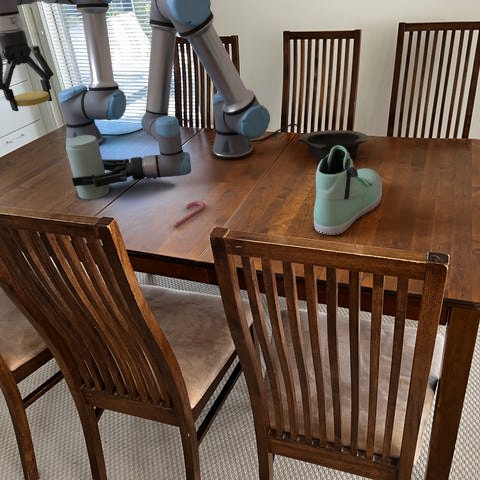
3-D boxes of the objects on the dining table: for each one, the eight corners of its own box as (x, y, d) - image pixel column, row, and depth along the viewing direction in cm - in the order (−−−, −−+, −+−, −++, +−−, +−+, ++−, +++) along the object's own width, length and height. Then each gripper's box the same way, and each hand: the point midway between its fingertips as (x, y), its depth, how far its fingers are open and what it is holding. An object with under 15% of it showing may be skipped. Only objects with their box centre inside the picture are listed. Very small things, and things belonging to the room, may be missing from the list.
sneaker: (389, 187, 148) (396, 123, 138) (356, 242, 123) (361, 168, 112) (346, 181, 154) (350, 119, 144) (306, 232, 129) (307, 161, 118)
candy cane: (161, 224, 139) (160, 219, 138) (194, 202, 149) (194, 198, 148) (177, 229, 135) (176, 224, 135) (209, 207, 145) (209, 202, 145)
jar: (115, 190, 161) (103, 138, 151) (89, 202, 155) (74, 148, 145) (98, 183, 167) (86, 132, 157) (72, 194, 161) (58, 141, 151)
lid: (4, 105, 149) (3, 100, 148) (31, 95, 158) (30, 90, 157) (31, 107, 145) (29, 101, 144) (57, 97, 153) (56, 91, 152)
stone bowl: (326, 174, 159) (325, 147, 154) (286, 157, 179) (284, 133, 175) (384, 156, 168) (385, 130, 163) (340, 142, 188) (339, 118, 184)
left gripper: (-23, 38, 131) (3, 117, 142) (52, 24, 146) (71, 97, 157) (-36, 37, 135) (-9, 114, 147) (39, 24, 150) (58, 94, 162)
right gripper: (144, 192, 151) (72, 200, 149) (147, 165, 170) (84, 172, 169) (139, 170, 147) (66, 178, 146) (144, 145, 166) (79, 152, 165)
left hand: (32, 105), depth 152 cm, fingers closed on lid, 11 cm apart
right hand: (76, 175), depth 157 cm, fingers closed on jar, 10 cm apart
